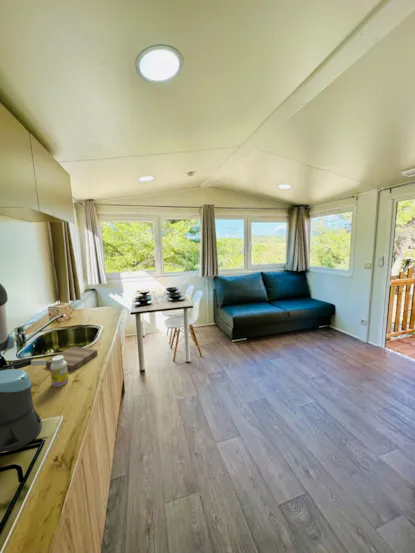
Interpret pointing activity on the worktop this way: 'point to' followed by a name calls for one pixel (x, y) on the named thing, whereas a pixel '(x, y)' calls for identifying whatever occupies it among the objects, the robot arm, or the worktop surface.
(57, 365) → the supplement bottle
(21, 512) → the worktop surface
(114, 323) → the worktop surface
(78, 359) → the walnut plinth
